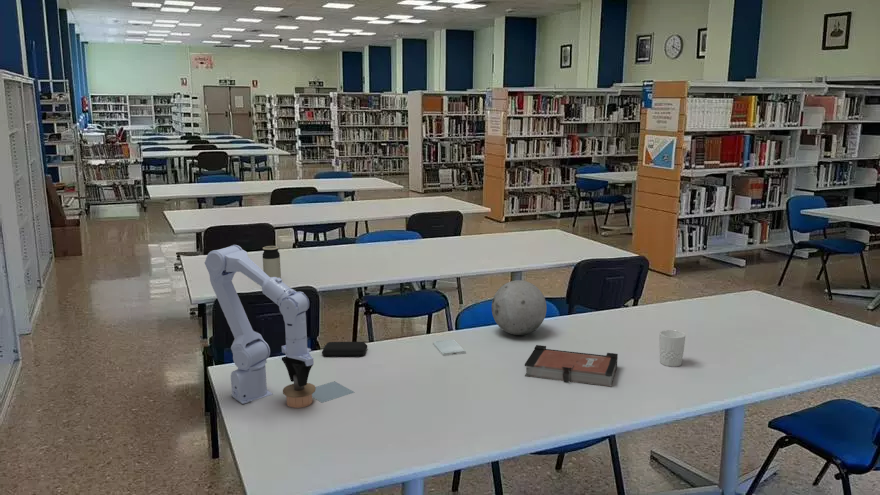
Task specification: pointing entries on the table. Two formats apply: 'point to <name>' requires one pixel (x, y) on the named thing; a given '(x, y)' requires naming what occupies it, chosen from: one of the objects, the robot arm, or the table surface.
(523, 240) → the table surface
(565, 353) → the book
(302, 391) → the lid
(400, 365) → the table surface
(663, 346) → the white cup
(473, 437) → the table surface
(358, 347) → the carrying case or bag
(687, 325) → the table surface
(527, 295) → the moon model
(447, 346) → the hard drive
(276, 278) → the robot arm
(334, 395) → the mat
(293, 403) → the bowl
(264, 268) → the travel mug
